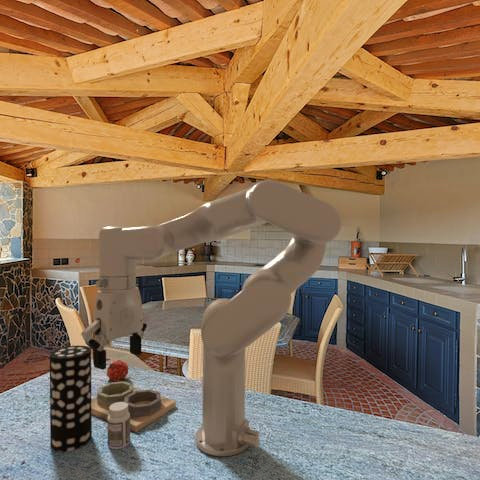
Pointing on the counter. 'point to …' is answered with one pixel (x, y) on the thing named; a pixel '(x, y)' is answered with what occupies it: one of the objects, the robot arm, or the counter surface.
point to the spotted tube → (70, 398)
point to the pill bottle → (118, 425)
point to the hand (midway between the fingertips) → (118, 360)
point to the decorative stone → (117, 370)
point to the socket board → (131, 403)
